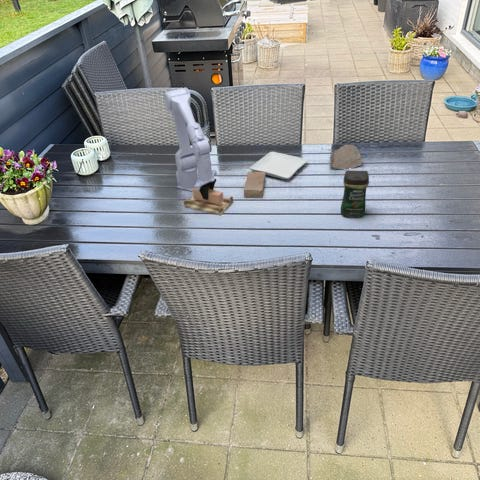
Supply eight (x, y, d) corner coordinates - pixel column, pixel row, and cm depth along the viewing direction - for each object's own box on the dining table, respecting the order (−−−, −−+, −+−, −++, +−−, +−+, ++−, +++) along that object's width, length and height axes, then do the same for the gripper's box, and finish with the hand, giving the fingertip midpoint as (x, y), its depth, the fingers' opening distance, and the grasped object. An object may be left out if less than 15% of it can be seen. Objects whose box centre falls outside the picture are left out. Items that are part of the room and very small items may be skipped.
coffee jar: (340, 218, 178) (344, 176, 167) (340, 207, 184) (343, 167, 173) (366, 219, 176) (371, 177, 165) (364, 208, 183) (369, 167, 172)
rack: (184, 207, 193) (183, 201, 191) (198, 194, 200) (197, 189, 199) (220, 215, 185) (220, 209, 183) (233, 202, 193) (232, 196, 191)
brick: (262, 198, 194) (262, 189, 192) (243, 198, 196) (242, 189, 193) (265, 180, 208) (265, 171, 205) (247, 180, 209) (247, 171, 206)
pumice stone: (331, 170, 211) (332, 151, 205) (328, 163, 217) (329, 144, 211) (363, 169, 210) (365, 149, 204) (360, 161, 216) (362, 142, 210)
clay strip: (193, 198, 193) (192, 189, 190) (197, 195, 195) (196, 186, 193) (219, 204, 187) (218, 195, 185) (223, 201, 190) (222, 191, 187)
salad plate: (309, 164, 218) (309, 158, 216) (288, 184, 204) (288, 177, 202) (270, 156, 228) (270, 150, 225) (248, 174, 213) (248, 168, 211)
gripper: (203, 177, 176) (207, 207, 184) (221, 162, 186) (224, 190, 194) (188, 174, 179) (192, 203, 187) (207, 159, 189) (210, 187, 197)
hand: (207, 196), depth 190 cm, fingers closed on clay strip, 3 cm apart
